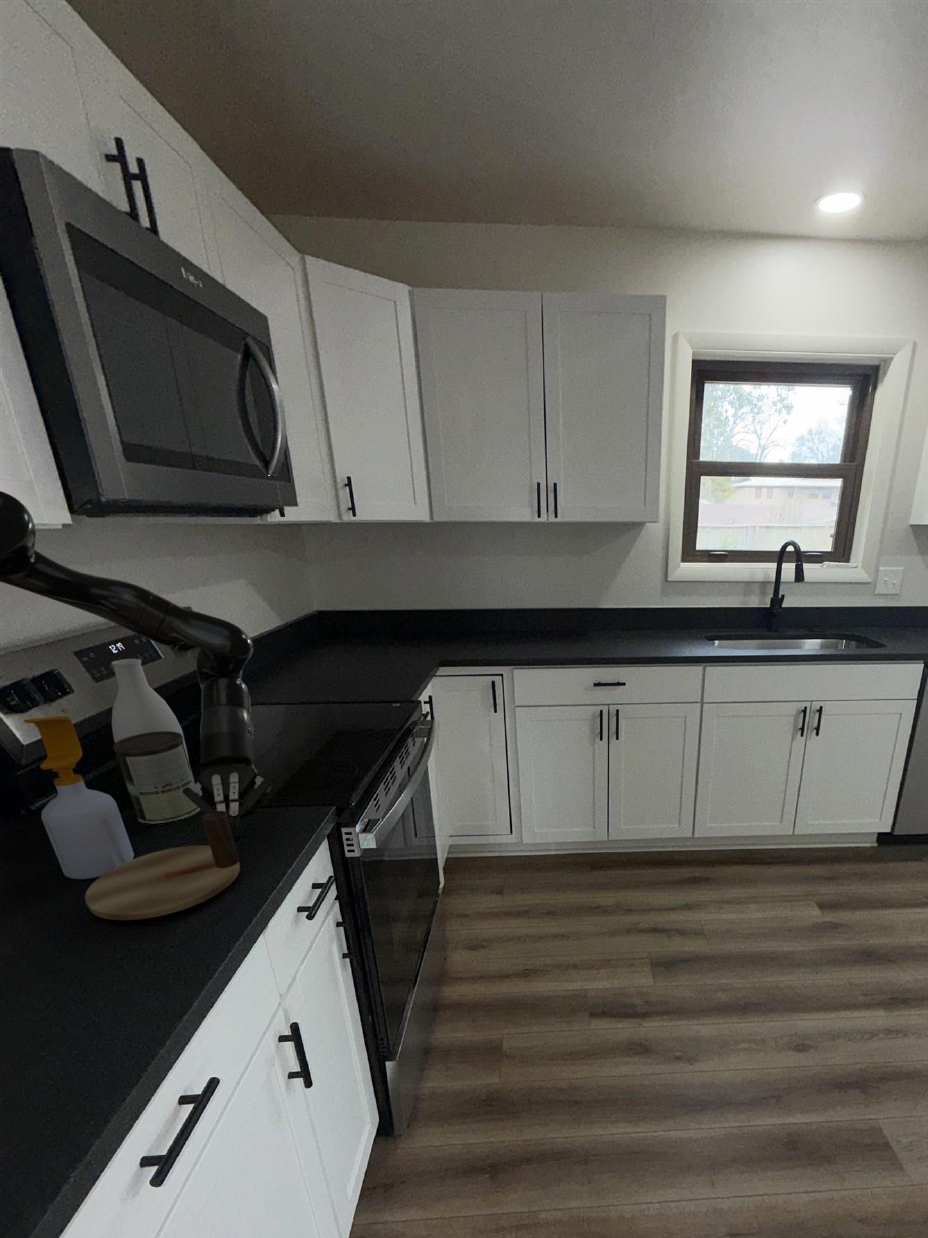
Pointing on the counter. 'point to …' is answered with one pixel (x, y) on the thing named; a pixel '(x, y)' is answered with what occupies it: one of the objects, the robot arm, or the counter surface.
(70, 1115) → the counter surface
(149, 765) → the coffee can
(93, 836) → the soap bottle
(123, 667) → the bottle
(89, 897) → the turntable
